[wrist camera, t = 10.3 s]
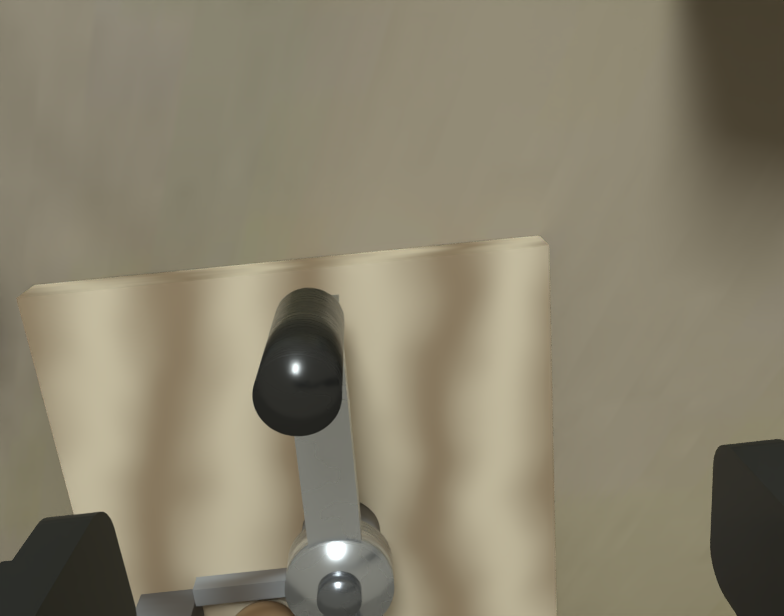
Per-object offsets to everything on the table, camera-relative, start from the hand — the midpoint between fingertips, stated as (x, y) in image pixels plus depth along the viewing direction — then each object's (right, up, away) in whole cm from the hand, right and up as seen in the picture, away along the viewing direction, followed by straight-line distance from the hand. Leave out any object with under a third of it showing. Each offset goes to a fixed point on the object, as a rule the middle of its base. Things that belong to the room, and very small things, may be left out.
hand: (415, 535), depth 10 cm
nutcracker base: (-4, -6, +29) cm, 30 cm away
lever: (-3, -5, +26) cm, 26 cm away
